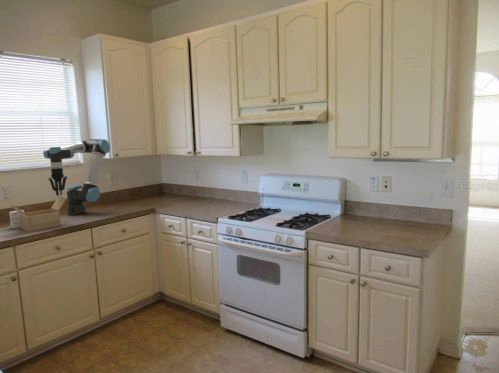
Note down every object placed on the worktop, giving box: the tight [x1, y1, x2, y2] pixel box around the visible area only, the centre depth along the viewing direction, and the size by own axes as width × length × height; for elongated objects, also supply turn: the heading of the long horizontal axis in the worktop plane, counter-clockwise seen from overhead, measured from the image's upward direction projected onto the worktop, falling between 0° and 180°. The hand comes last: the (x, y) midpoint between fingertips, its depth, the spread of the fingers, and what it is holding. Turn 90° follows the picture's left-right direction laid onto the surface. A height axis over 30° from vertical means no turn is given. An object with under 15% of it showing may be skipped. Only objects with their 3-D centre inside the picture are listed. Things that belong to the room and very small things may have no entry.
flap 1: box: [8, 203, 27, 216], centre depth 261 cm, size 1×13×10 cm
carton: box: [19, 208, 62, 233], centre depth 273 cm, size 21×17×10 cm
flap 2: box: [50, 196, 67, 211], centre depth 282 cm, size 1×13×10 cm
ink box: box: [8, 209, 26, 230], centre depth 275 cm, size 9×5×12 cm, turn 141°
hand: (59, 199), depth 282 cm, fingers closed
